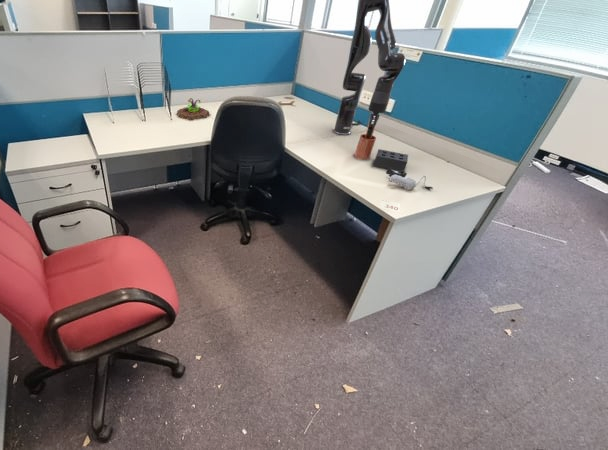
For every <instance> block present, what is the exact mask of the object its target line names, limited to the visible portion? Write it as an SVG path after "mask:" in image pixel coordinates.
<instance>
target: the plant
mask: <svg viewBox="0 0 608 450" xmlns="http://www.w3.org/2000/svg"><path fill="white" fill-rule="evenodd" d="M187 102H188V104H187V106H185V107H182V108H179V109H178V110H177V111H176V113H177V116H178V117H179V118H181V119H185V120H189V121H194V120H200V119H205V118H208V116H210V111H209V110H208V109H206V108H203V107H201V106H199V104H197V102H198V103H202V101H201V100H200V99H196V100H195V101H194V99H193V98H191V97H189V99H188V100H187ZM189 103H191V104H189Z"/></svg>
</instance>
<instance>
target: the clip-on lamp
mask: <svg viewBox="0 0 608 450" xmlns="http://www.w3.org/2000/svg"><path fill="white" fill-rule="evenodd" d="M385 174H386V175H388V176H387V180H390V182H391V183H393V184H397V185H399V186H401V187H402V188H403V189H405V190H408V191H411V190H412V189H414V188H416V186H417V185H419V183H420V182H421V181H422V180H423V178H424V180H423V186H424V188H425V189H426V190H434V187H433V186H426V180H427V177H426V175H423V176H422V177H421V178H420V179H419V181H418V182H417V183H416V179H414V178H413V177H406V176H407V174H408V173H407V172H405V170H404V171H401V172H399V171H396V170H392V169H388V170H387V169H386V171H385Z"/></svg>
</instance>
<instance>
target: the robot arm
mask: <svg viewBox="0 0 608 450" xmlns="http://www.w3.org/2000/svg"><path fill="white" fill-rule="evenodd" d="M375 11H378V12H379V21H378V23H377V25H376V28H375V33H374V37H375V42H376V46H377V49H378V50H377V51H378V54H377V56H378V57H377V58H378V59H377V65H378V68H379V69H380V70H381V71H382V72H386V73H385V74H384V75H381V76H379V77H378V78H377V82H376V84H375V88H374V91H373V93H372V96H371V99H370V103H369V105H368V111H369V112H371V113H370V116H369V120H368V125H367V129H368V131H367V130H366V132H367V135H366V137H367V138H371V135H372V132H373V130H374V131H375V128H374V126H375V127H376V126H377V123H378V121H379V119H380V116H381V115H380V114H384V113H385V112H386V110H387V108H388V104H389V102H390V98H391V94H392V91H393V87H394V85H395V83H396V80H398V77H399V76H400V74H401V72H402V70H403V69H404V67H405V64H406V56H405V54H404V53H403V52H391V51H393V50H394V49H395V48H396V46H397V40H396V37H395V33H394V30H393V26H392V20H391V19H392V17H391V8H390V0H358V1H357V9H356V17H355V23H354V29H353V34H352V40H351V43H350V48H349V49H350V50H349V55H348V59H347V60H348V61H347V65H346V68H345V73H344V76H343V81H342V89H343V90H344V91H348V92H354V93H352V94H349V95H343V97H342V98H341V100H340V104H339V107H338V112H337V116H336V120H335V125H334V128H333V133H335V134H338V135H342V136H346V135H349V134H350V133H351V129H352V126H358V125H360V124H361V123H362V121H361V122H359V121H358V122H357V123H355V122H354V119H355V115H356V111H357V108H358V104H359V101H360V96H361V93H362V91H363V88H364V84H365V82H366V74H365V73H359V72H353V71H354V70H355V68H356V67H357V66H358V65H359V64H360V63H361V62H362V61H363V60H364V59H365V58H366V57H367V56H368V54H369V53H370V50H371V46H372V40H373V36H372V33H371V30H370V29H369V27H368V24H367V15H368V13H370V12H375ZM353 122H354V123H353ZM368 126H369V127H368ZM370 127H373V128H370ZM373 133H374V132H373Z"/></svg>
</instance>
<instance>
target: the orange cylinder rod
mask: <svg viewBox="0 0 608 450" xmlns="http://www.w3.org/2000/svg"><path fill="white" fill-rule="evenodd" d="M368 127H369V125H367V129H366V132H365V134H366V135H367V131H368ZM370 128H373V127H370ZM375 128H376V126H374V130H373V132H372V135H373V136H374V131H375ZM366 135H365V138H367V137H366ZM372 135H371V138H372ZM367 139H370V138H367Z"/></svg>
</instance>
